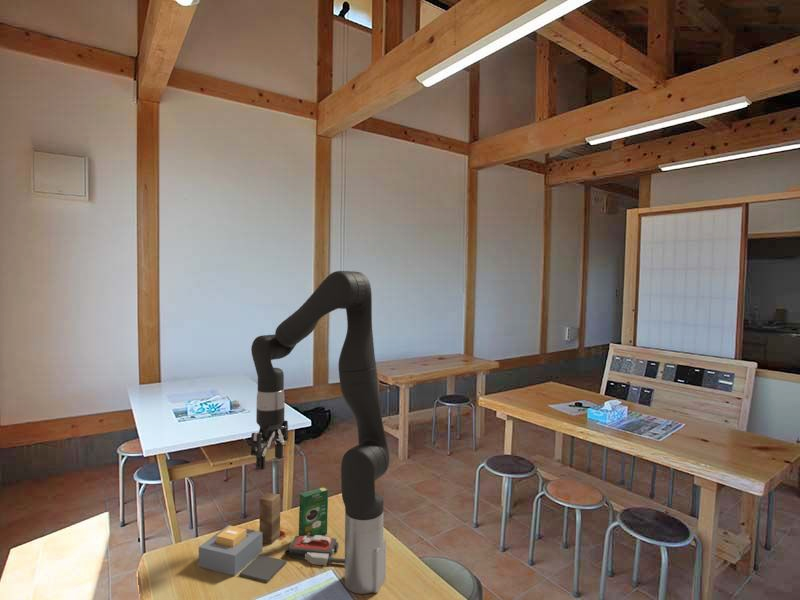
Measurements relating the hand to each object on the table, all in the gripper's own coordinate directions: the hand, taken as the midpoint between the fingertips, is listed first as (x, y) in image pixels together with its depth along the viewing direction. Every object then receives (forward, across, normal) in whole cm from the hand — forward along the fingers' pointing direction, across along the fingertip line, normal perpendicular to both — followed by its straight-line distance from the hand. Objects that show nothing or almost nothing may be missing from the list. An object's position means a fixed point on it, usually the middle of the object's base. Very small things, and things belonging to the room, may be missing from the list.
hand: (270, 463), depth 122 cm
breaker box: (+21, -11, +4) cm, 24 cm away
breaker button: (+19, -11, +4) cm, 22 cm away
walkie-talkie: (+22, -2, -18) cm, 28 cm away
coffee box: (+22, +5, -11) cm, 25 cm away
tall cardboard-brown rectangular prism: (+21, 0, 0) cm, 21 cm away
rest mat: (+21, -12, -6) cm, 25 cm away
